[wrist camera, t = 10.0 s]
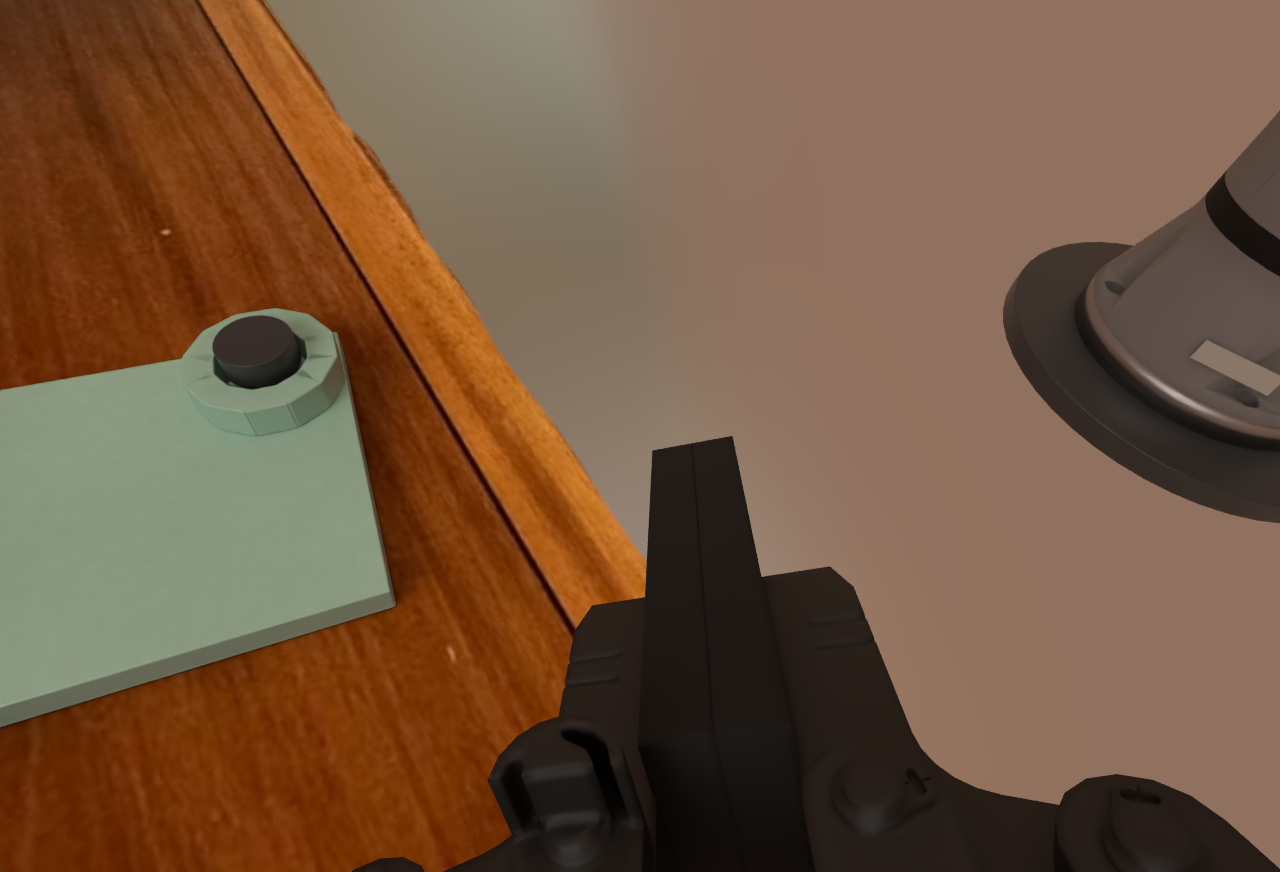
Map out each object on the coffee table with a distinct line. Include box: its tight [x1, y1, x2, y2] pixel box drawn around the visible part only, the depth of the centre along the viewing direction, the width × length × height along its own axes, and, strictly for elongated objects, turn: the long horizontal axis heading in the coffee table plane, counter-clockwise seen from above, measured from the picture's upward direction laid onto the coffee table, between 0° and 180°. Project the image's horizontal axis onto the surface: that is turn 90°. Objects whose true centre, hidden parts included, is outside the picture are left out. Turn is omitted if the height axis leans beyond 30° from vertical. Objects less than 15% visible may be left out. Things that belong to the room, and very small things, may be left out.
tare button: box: [212, 315, 301, 389], centre depth 28 cm, size 3×3×1 cm
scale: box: [0, 308, 396, 727], centre depth 26 cm, size 16×14×3 cm
